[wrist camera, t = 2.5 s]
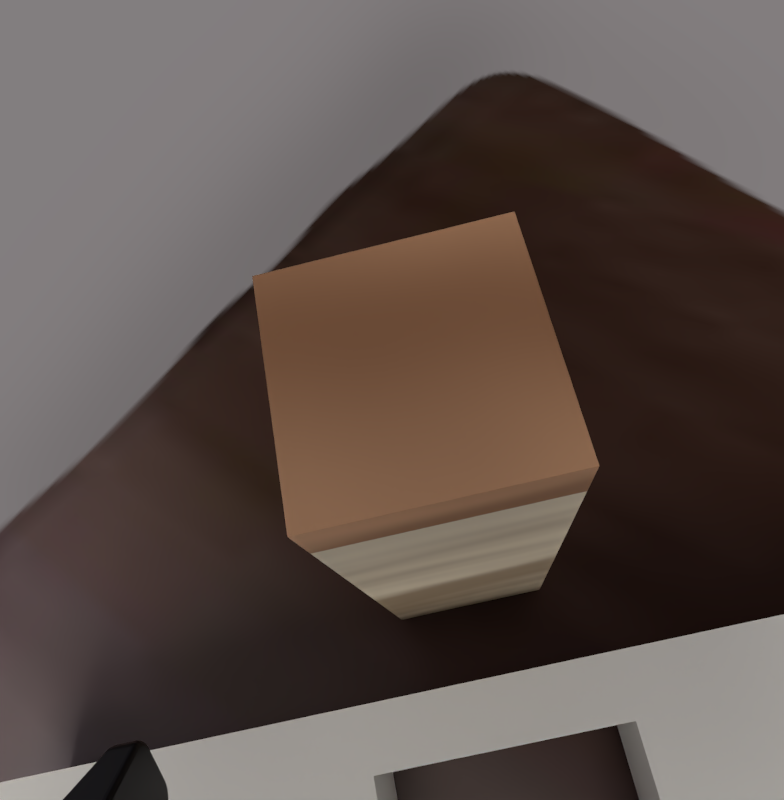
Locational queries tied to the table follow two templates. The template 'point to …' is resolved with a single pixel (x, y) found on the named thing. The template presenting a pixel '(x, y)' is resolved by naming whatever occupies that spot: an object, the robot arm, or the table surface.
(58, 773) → the white slotted block
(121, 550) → the table surface
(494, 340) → the wooden peg
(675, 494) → the table surface
